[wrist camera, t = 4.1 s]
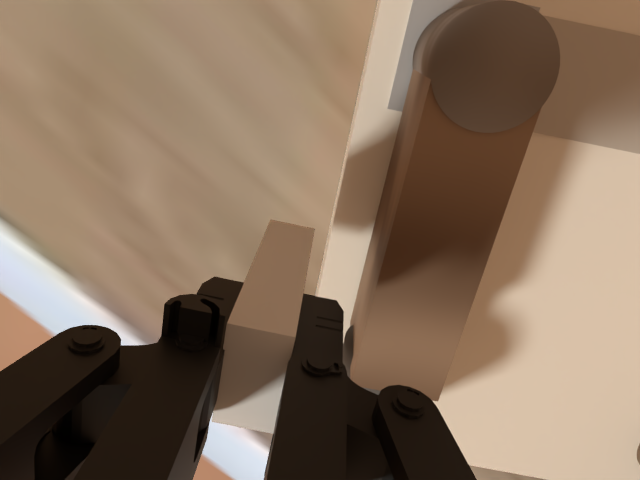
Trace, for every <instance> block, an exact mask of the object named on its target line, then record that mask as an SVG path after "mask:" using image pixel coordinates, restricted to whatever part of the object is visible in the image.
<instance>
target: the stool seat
mask: <svg viewBox="0 0 640 480" xmlns="http://www.w3.org/2000/svg"><path fill="white" fill-rule="evenodd" d="M492 1H499V0H378V2H377V7H376V11H375V16H374V21H373V25H372V30H371V35H370V40H369V44H368V49H367V54H366V58H365V63H364V68H363V72H362V77H361V82H360V87H359V91H358V96H357V101H356V105H355V110H354V115H353V120H352V124H351V129H350V134H349V138H348V143H347V148H346V152H345V157H344V162H343V167H342V171H341V176H340V181H339V185H338V190H337V195H336V200H335V204H334V209H333V214H332V218H331V223H330V228H329V232H328V237H327V242H326V247H325V251H324V256H323V261H322V265H321V270H320V275H319V280H318V284H317V289H316V294H315V296H317V297H322V298H327V299H332V300H337V302H338V303H339V305H340V306H341V308H342V309H343V311H344V321H343V342H344V338H345V334H346V332H347V330H348V328H349V327H350V320H351V316H352V312H353V308H354V304H355V300H356V296H357V292H358V288H359V284H360V280H361V276H362V272H363V268H364V264H365V260H366V256H367V252H368V248H369V244H370V240H371V236H372V232H373V228H374V224H375V220H376V216H377V212H378V208H379V204H380V200H381V196H382V192H383V187H384V183H385V179H386V175H387V171H388V167H389V163H390V159H391V155H392V151H393V147H394V143H395V139H396V135H397V131H398V127H399V123H400V119H401V115H402V111H403V107H404V103H405V99H406V95H407V91H408V87H409V83H410V79H411V75H412V71H413V66H412V62H413V53H414V49H415V46H416V43H417V41H418V39H419V37H420V35H421V33H422V32H423V30H424V29H425V28H426V27H427V25H428V24H429V23H430V22H431V21H433V20H434V19H435V18H436V17H438V16H439V15H441V14H443V13H445V12H447V11H449V10H452V9H456V8H461V7H466V6H471V5H476V4H481V3H486V2H492ZM508 1H516V2H519V3H523V4H526V5H528V6H530V7H532V8H533V9H535V10H536V11H538V12H539V13H540V14H541V15H543V16H544V17H545V18H546V20H547V21H548V22H549V23H550V25H551V27H552V28H553V30H554V32H555V34H556V37H557V40H558V44H559V48H560V68H559V74H558V77H557V81H556V84H555V86H554V88H553V91H552V93H551V94H550V96H549V98H548V99H547V101H546V102H545V103H544V105H543V106H542V108H541V111H540V113H539V116H538V119H537V122H536V125H535V128H534V130H533V133H532V136H531V139H530V142H529V145H528V148H527V150H526V153H525V156H524V159H523V162H522V165H521V167H520V170H519V173H518V176H517V179H516V182H515V184H514V187H513V190H512V193H511V196H510V199H509V201H508V204H507V207H506V210H505V213H504V216H503V219H502V221H501V224H500V227H499V230H498V233H497V236H496V238H495V241H494V244H493V247H492V250H491V253H490V255H489V258H488V261H487V264H486V267H485V270H484V273H483V275H482V278H481V281H480V284H479V287H478V290H477V292H476V295H475V298H474V301H473V304H472V307H471V309H470V312H469V315H468V318H467V321H466V324H465V327H464V329H463V332H462V335H461V338H460V341H459V344H458V346H457V349H456V352H455V355H454V358H453V361H452V363H451V366H450V369H449V372H448V375H447V378H446V380H445V383H444V386H443V389H442V392H441V395H440V398H439V400H438V401H433V402H434V404H435V405H436V406H437V408H438V410H439V411H440V413H441V415H442V417H443V419H444V421H445V422H446V424H447V426H448V428H449V430H450V432H451V433H452V435H453V437H454V439H455V441H456V443H457V444H458V446H459V448H460V450H461V452H462V454H463V456H464V457H465V459H466V461H467V463H468V465H472V466H477V467H482V468H488V469H493V470H499V471H504V472H509V473H515V474H520V475H525V476H531V477H536V478H541V479H547V480H640V0H508Z"/></svg>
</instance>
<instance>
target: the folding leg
mask: <svg viewBox="0 0 640 480" xmlns="http://www.w3.org/2000/svg"><path fill="white" fill-rule="evenodd" d="M412 66H413V71H412V75H411V79H410V83H409V87H408V91H407V95H406V99H405V103H404V107H403V111H402V115H401V119H400V123H399V127H398V131H397V135H396V139H395V143H394V147H393V151H392V155H391V159H390V163H389V167H388V171H387V175H386V179H385V183H384V187H383V192H382V196H381V200H380V204H379V208H378V212H377V216H376V220H375V224H374V228H373V232H372V236H371V240H370V244H369V248H368V252H367V256H366V260H365V264H364V268H363V272H362V276H361V280H360V284H359V288H358V292H357V296H356V300H355V304H354V308H353V312H352V316H351V320H350V327H349V328H348V330H347V332H346V334H345V338H344V342H343V364H344V365H345V367H346V370H347V376H348V377H349V378H350V379H351V380H352V381H353V382H355V383H356V384H357V385H358V386H360V387H362V388H364V389H366V390H368V391H370V392H373V393H375V394H377V395H379V393H380V391H381V390H382V389H384V388H385V387H387V386H392V385H402V386H408V387H411V388H414V389H416V390H418V391H421V392H422V393H424V394H425V395H426V396H428V397H429V398H430V399H431V400H432V401H438V400H439V398H440V395H441V392H442V389H443V386H444V383H445V380H446V378H447V375H448V372H449V369H450V366H451V363H452V361H453V358H454V355H455V352H456V349H457V346H458V344H459V341H460V338H461V335H462V332H463V329H464V327H465V324H466V321H467V318H468V315H469V312H470V309H471V307H472V304H473V301H474V298H475V295H476V292H477V290H478V287H479V284H480V281H481V278H482V275H483V273H484V270H485V267H486V264H487V261H488V258H489V255H490V253H491V250H492V247H493V244H494V241H495V238H496V236H497V233H498V230H499V227H500V224H501V221H502V219H503V216H504V213H505V210H506V207H507V204H508V201H509V199H510V196H511V193H512V190H513V187H514V184H515V182H516V179H517V176H518V173H519V170H520V167H521V165H522V162H523V159H524V156H525V153H526V150H527V148H528V145H529V142H530V139H531V136H532V133H533V130H534V128H535V125H536V122H537V119H538V116H539V113H540V111H541V108H542V106H543V105H544V103H545V102H546V101H547V99H548V98H549V96H550V94H551V93H552V91H553V88H554V86H555V84H556V81H557V77H558V74H559V68H560V48H559V44H558V40H557V37H556V34H555V32H554V30H553V28H552V27H551V25H550V23H549V22H548V21H547V20H546V18H545V17H544V16H543V15H541V14H540V13H539V12H538V11H536V10H535V9H533V8H532V7H530V6H528V5H526V4H523V3H519V2H516V1H508V0H499V1H492V2H486V3H481V4H476V5H471V6H466V7H461V8H456V9H452V10H449V11H447V12H445V13H443V14H441V15H439V16H438V17H436V18H435V19H434V20H433V21H431V22H430V23H429V24H428V25H427V27H426V28H425V29H424V30H423V32H422V33H421V35H420V37H419V39H418V41H417V43H416V46H415V49H414V53H413V62H412Z"/></svg>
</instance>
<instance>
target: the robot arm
mask: <svg viewBox="0 0 640 480" xmlns="http://www.w3.org/2000/svg"><path fill="white" fill-rule="evenodd" d="M314 230H315V229H313V228H309V227H304V226H299V225H294V224H290V223H285V222H280V221H275V220H270V222H269V225H268V227H267V229H266V232H265V234H264V237H263V239H262V241H261V244H260V246H259V248H258V251H257V253H256V256H255V258H254V260H253V263H252V265H251V267H250V270H249V272H248V274H247V277H246V279H245V282H244V283H243V282H238V281H233V280H228V279H223V278H218V277H213V278H211V279H210V280H208V281H206V282H204V283H203V284H202V285H201V287H200V289H199V290H198V292H197V295H195V294H188V295H179V296H177V297H174V298H171V299H170V300H168V301H167V302H166V303H165V305H164V315H163V325H162V336H161V338H160V339H159V341H158V342H157V343H154V344H149V345H139V346H120V345H121V339H120V337H119V336H118V334H117V333H116V332H114V331H113V330H111V329H109V328H106V327H102V326H97V325H82V326H77V327H72V328H69V329H67V330H65V331H63V332H61V333H59V334H57V335H56V336H54V337H53V338H51V339H50V340H48V341H47V342H45V343H44V344H42V345H40V346H39V347H37V348H36V349H34V350H33V351H31V352H30V353H28V354H27V355H25V356H23V357H22V358H20V359H19V360H17V361H16V362H14V363H13V364H11V365H9V366H8V367H6V368H5V369H3V370H2V371H0V480H193V477H194V474H195V471H196V468H197V465H198V462H199V459H200V457H201V454H202V451H203V448H204V445H205V442H206V439H207V434H208V427H209V421H210V418H211V416H212V413H213V417H212V422H216V423H221V424H226V425H232V426H237V427H242V428H247V429H252V430H257V431H262V432H267V433H272V434H273V437H272V442H271V447H270V451H269V456H268V461H267V465H266V470H265V474H264V476H265V477H264V480H477V479H476V478H475V476H474V474H473V472H472V470H471V468H470V467H469V465H468V463H467V461H466V459H465V457H464V456H463V454H462V452H461V450H460V448H459V446H458V444H457V443H456V441H455V439H454V437H453V435H452V433H451V432H450V430H449V428H448V426H447V424H446V422H445V421H444V419H443V417H442V415H441V413H440V411H439V410H438V408H437V406H436V405H435V404H434V402H433V401H432V400H431V399H430V398H429V397H428V396H426V395H425V394H424V393H422V392H421V391H418V390H416V389H414V388H411V387H408V386H402V385H392V386H387V387H385V388H384V389H382V390H381V391H380V393H379V395H377V394H375V393H373V392H370V391H368V390H366V389H364V388H362V387H360V386H358V385H357V384H356V383H355V382H353V381H352V380H351V379H350V378H349V377H348V376H347V370H346V367H345V365H344V364H343V321H344V311H343V309H342V308H341V306H340V305H339V303H338V302H337V300H332V299H327V298H322V297H317V296H312V295H308V294H303V292H304V287H305V281H306V275H307V270H308V264H309V258H310V253H311V247H312V242H313V236H314Z"/></svg>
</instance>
